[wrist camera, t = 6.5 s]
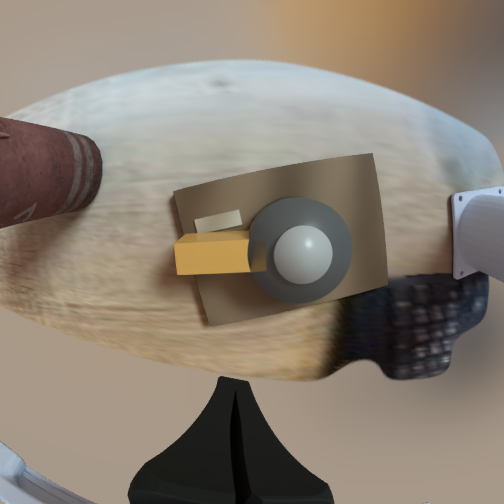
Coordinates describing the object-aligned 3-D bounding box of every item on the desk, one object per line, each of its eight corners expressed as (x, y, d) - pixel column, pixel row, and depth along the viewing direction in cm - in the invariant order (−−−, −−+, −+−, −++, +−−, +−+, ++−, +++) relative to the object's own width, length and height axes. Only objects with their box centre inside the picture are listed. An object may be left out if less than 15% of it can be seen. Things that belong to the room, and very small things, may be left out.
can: (121, 174, 18) (-39, 175, 4) (70, 225, 19) (-68, 275, 5) (87, 118, 17) (-50, 78, 3) (41, 170, 17) (-90, 179, 4)
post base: (366, 154, 18) (373, 152, 17) (382, 280, 20) (389, 285, 19) (176, 191, 18) (172, 191, 17) (211, 319, 21) (209, 327, 19)
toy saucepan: (335, 195, 17) (356, 198, 14) (334, 281, 19) (352, 302, 15) (183, 202, 17) (167, 206, 14) (191, 289, 19) (180, 312, 15)
